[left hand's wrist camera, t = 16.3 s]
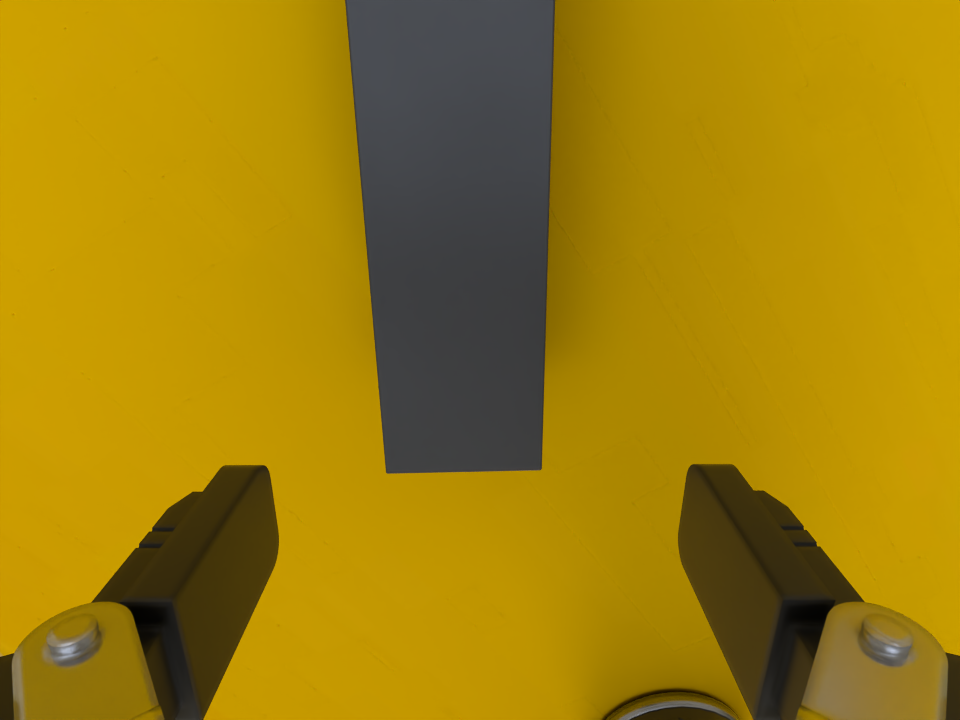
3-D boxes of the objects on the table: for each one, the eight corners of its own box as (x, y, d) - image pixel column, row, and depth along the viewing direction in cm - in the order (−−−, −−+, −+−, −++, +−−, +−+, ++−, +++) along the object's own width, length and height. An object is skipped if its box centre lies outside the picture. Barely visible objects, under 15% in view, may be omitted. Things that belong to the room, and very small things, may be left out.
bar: (521, 371, 27) (541, 470, 20) (409, 373, 27) (386, 474, 20) (532, -503, 17) (583, -996, 9) (352, -502, 17) (258, -996, 9)
